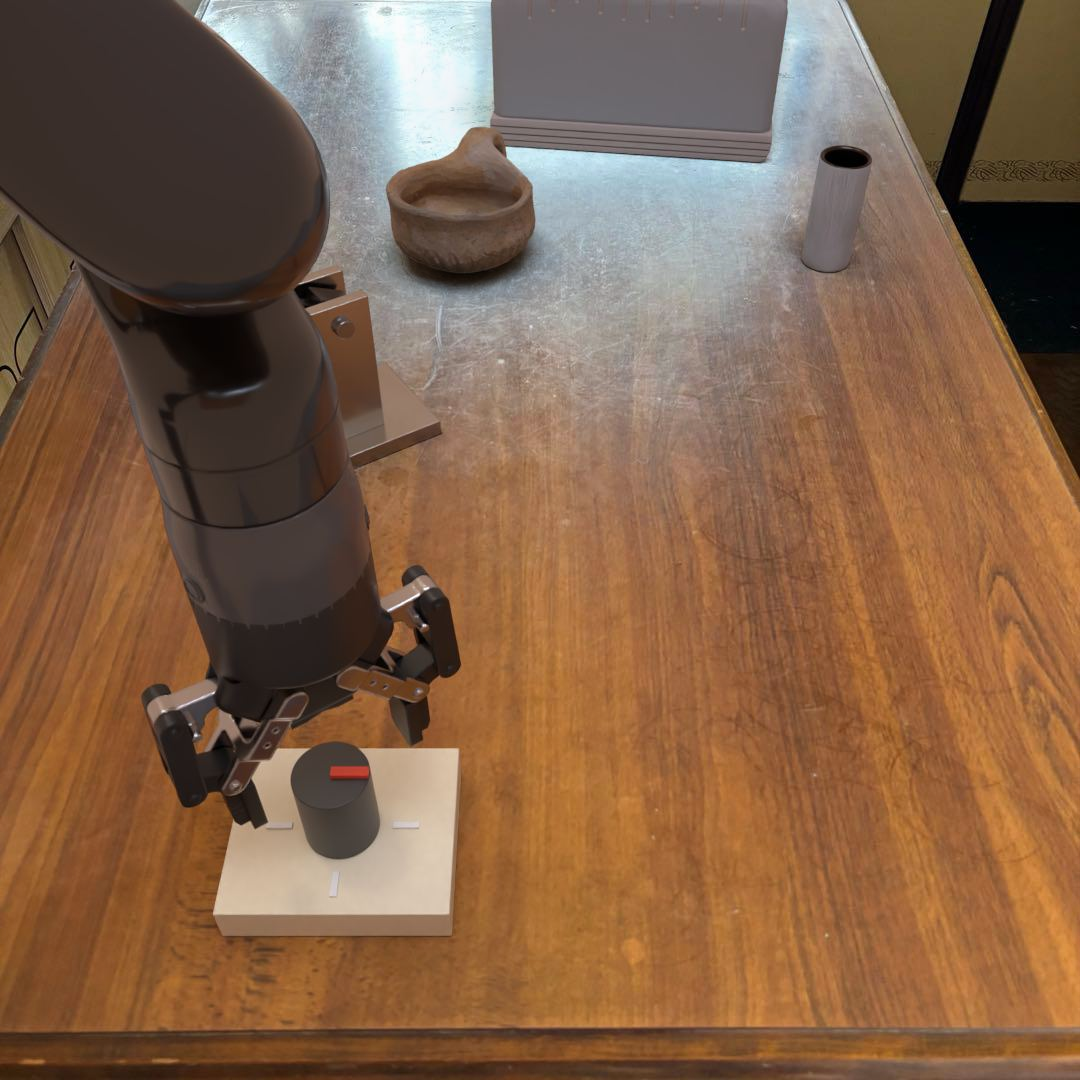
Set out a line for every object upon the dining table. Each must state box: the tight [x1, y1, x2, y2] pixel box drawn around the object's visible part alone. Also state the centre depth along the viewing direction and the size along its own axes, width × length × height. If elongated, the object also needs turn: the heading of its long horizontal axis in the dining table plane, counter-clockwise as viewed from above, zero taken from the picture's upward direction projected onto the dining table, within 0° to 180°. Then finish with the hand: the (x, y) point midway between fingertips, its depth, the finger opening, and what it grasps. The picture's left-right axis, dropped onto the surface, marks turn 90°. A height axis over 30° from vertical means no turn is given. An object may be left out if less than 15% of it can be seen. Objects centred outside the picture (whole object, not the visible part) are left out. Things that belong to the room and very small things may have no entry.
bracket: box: [294, 264, 442, 469], centre depth 82 cm, size 12×9×13 cm
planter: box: [800, 144, 873, 273], centre depth 101 cm, size 4×4×10 cm
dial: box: [290, 740, 380, 859], centre depth 57 cm, size 4×4×5 cm
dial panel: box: [212, 747, 462, 937], centre depth 60 cm, size 12×10×3 cm
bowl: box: [385, 126, 536, 274], centre depth 103 cm, size 18×14×10 cm
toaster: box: [489, 0, 789, 163], centre depth 126 cm, size 30×36×18 cm
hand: (332, 771), depth 56 cm, fingers open, 8 cm apart
